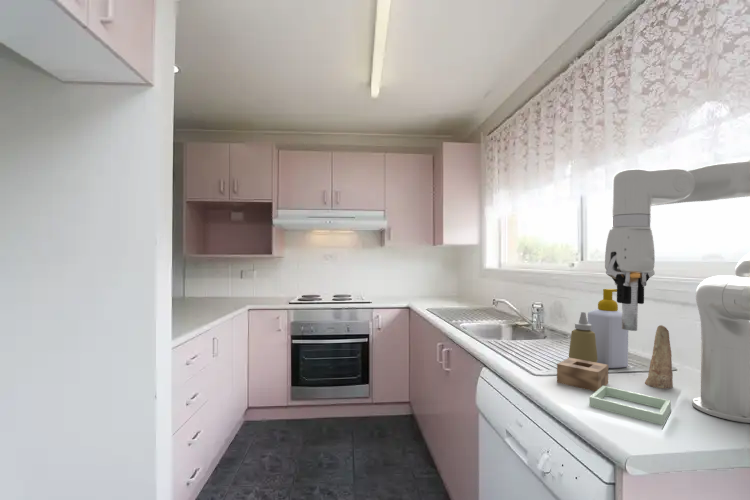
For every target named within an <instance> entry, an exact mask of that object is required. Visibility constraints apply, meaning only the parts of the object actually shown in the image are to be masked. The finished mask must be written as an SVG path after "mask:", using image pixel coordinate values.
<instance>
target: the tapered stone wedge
mask: <svg viewBox="0 0 750 500" xmlns="http://www.w3.org/2000/svg"><path fill="white" fill-rule="evenodd" d="M653 341H654V342H653V349H652V355H651V358H650V359H651V360H650V363H649V369H648V373H647V374H648V375H647V377H646V379H645V382H644V384H645V385H647V386H649V387H652V388H656V389H672V388H673V387H674V383H673V382H674V381H673V374H674V373H673V362H672V350H671V349H672V347H671V341H670V332H669V330H668V327H666V326H664V325H663V324H660V325H658V326H657V328H656V331H655V335H654V340H653Z"/></svg>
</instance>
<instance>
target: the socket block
mask: <svg viewBox="0 0 750 500" xmlns="http://www.w3.org/2000/svg"><path fill="white" fill-rule="evenodd" d="M556 383H558V384H563V385H565V386H571V387H573V388H574V387H575V388H579V389H583V390H587V391H592V392H594V393H595V392H596V391H597V390H598V389H599V388H601V387H602V386H607V385H608V384H609V368H608V365H606V364H601V363H596V362H591V361H585V360H580V359H575V358H569V357H567V358H566V359H564V360H562V361H560V362H557V364H556Z"/></svg>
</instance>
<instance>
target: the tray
mask: <svg viewBox="0 0 750 500" xmlns="http://www.w3.org/2000/svg"><path fill="white" fill-rule="evenodd" d="M606 396H607V397H612V398H616V399H619V400H620V399H621V400H625V401H629V402H632V403H637V404H641V405H646V406H649V407H654V408H658V409H660V410H659V411H658V412H656V411H652V410H649V409H645V408H641V407H636V406H634V405H633V406H632V405H628V404H625V403H620V402H616V401H613V400H608V399H604V397H606ZM588 401H589V402H588V403H589V407H594V408H596V409H600V410H603V411H608V412H612V413H616V414H619V415H623V416H626V417H629V418H630V417H631V418H635V419H639V420H642V421H645V422H650V423H653V424H656V425H660V426H661V425H662V428H661V430H663V429H664V427H665V425H666V423H667V421H668V420H669V417H670V415H671V410H672V409H671V407H672V406H671V402H672V401H671V400H670V399H666V398H661V397H657V396H652V395H648V394H643V393H638V392H635V391H630V390H625V389H620V388H616V387H613V386H607V385H606V386H602V387H601V388H599V389H598V390H597V391H596V392H595V391H594V392H593V393H592V394H591V395H590V396H589V400H588Z"/></svg>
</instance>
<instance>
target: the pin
mask: <svg viewBox="0 0 750 500" xmlns="http://www.w3.org/2000/svg"><path fill="white" fill-rule="evenodd" d="M622 277H623V278H624V275H622ZM640 277H641V273H633V272H630V281H629V286H631V304H624V303H621V312H622V329H624V330H628V331H631V332H632V331H633V332H636V331H638V318H639V317H638V313H639V312H638V311H639V310H638V309H639V305H638V278H640Z"/></svg>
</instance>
